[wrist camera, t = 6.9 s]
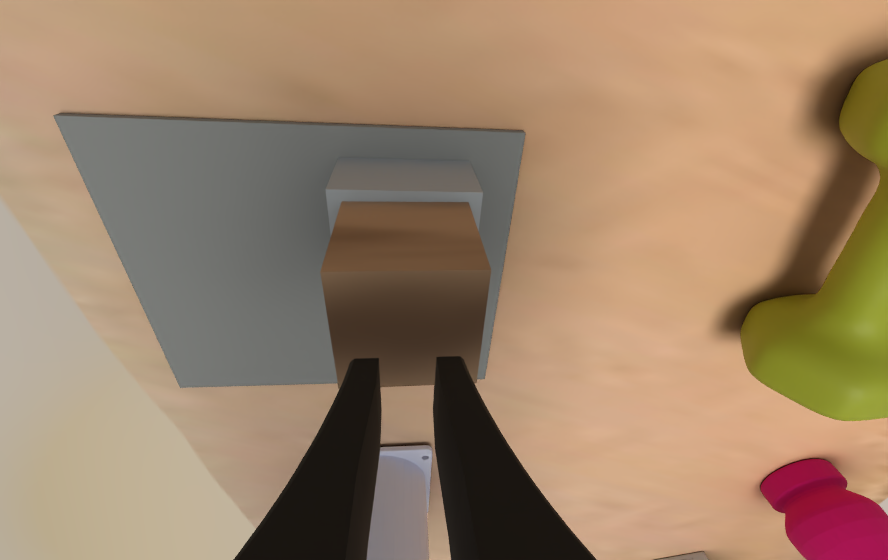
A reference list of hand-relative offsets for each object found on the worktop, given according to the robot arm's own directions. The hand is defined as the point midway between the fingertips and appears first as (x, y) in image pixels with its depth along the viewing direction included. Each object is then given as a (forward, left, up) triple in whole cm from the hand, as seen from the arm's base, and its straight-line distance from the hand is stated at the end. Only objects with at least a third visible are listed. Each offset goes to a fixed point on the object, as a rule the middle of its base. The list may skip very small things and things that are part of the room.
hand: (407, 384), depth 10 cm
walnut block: (0, 0, -6) cm, 6 cm away
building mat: (-4, +4, -10) cm, 12 cm away
